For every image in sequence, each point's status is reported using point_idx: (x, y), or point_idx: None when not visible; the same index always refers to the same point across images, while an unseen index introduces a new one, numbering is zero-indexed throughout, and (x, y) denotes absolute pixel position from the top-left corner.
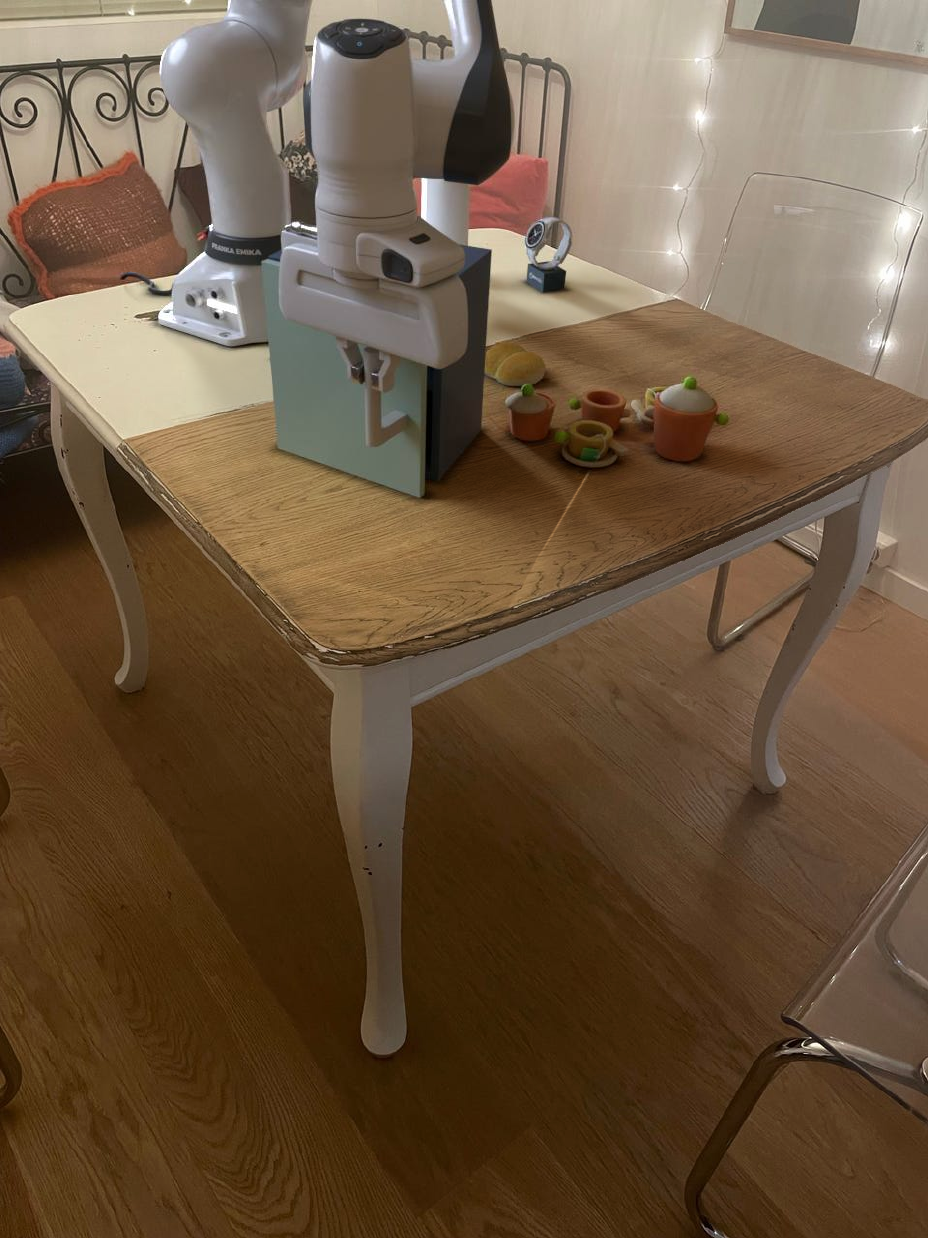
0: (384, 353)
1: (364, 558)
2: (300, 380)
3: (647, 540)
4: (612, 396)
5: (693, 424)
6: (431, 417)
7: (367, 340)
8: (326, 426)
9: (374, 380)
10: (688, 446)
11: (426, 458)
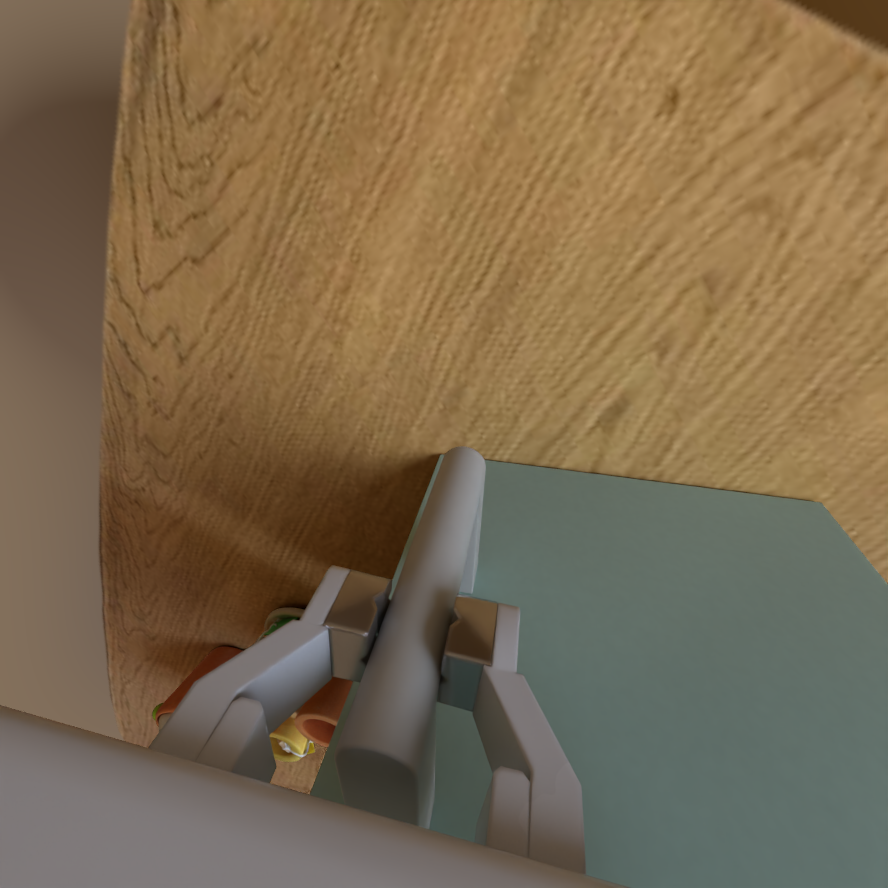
0: (205, 739)
1: (409, 205)
2: (827, 656)
3: (124, 487)
4: (324, 737)
5: (172, 696)
6: None
7: (229, 835)
8: (691, 548)
9: (358, 604)
10: (198, 666)
11: None
